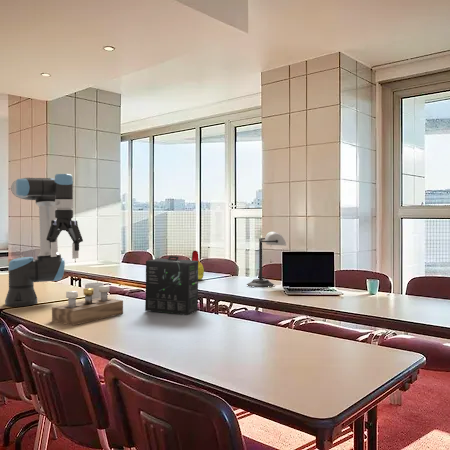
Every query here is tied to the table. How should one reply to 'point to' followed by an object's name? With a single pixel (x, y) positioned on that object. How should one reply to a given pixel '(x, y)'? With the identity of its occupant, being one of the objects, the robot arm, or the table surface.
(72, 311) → the mount
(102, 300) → the knob far
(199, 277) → the bottle
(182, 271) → the headset box
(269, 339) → the table surface
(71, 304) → the knob near
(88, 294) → the pot knob
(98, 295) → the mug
